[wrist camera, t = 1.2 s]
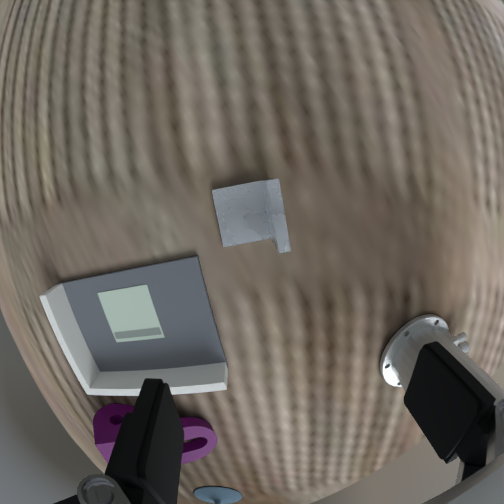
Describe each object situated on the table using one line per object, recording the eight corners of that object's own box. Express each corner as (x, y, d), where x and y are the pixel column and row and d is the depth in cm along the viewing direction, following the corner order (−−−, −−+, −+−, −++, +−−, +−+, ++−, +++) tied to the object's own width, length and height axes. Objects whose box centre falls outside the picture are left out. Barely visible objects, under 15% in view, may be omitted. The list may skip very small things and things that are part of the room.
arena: (197, 255, 30) (190, 268, 26) (227, 366, 34) (226, 389, 29) (58, 283, 30) (39, 296, 26) (98, 375, 34) (87, 394, 30)
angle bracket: (269, 179, 28) (278, 178, 22) (279, 234, 30) (290, 251, 23) (212, 190, 28) (203, 192, 22) (224, 245, 30) (219, 264, 23)
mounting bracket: (194, 386, 42) (91, 406, 34) (214, 419, 35) (95, 444, 26) (201, 421, 44) (110, 441, 36) (219, 453, 37) (117, 476, 29)
